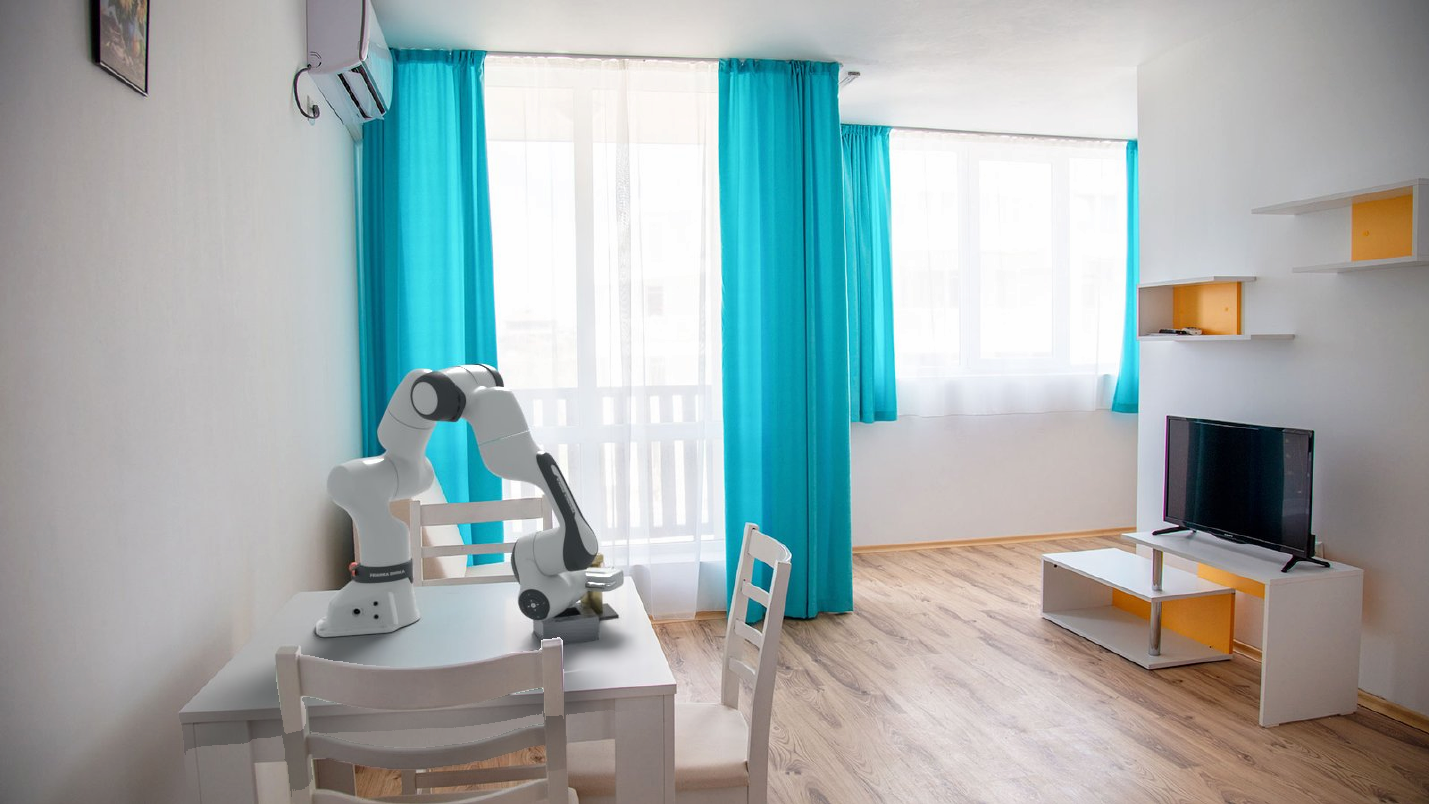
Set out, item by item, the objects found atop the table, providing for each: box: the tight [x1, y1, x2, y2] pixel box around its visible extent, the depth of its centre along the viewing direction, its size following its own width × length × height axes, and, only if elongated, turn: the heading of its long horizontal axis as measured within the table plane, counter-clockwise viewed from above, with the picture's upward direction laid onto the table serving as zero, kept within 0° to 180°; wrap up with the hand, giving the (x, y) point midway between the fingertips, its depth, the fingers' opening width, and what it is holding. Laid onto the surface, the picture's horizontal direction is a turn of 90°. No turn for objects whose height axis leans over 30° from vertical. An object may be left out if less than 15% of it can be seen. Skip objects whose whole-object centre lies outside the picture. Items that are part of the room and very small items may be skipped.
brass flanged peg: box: [579, 552, 605, 614], centre depth 200 cm, size 7×7×13 cm
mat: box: [597, 602, 620, 621], centre depth 200 cm, size 10×10×1 cm
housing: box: [532, 602, 600, 645], centre depth 186 cm, size 12×12×5 cm
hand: (592, 568), depth 200 cm, fingers open, 8 cm apart
